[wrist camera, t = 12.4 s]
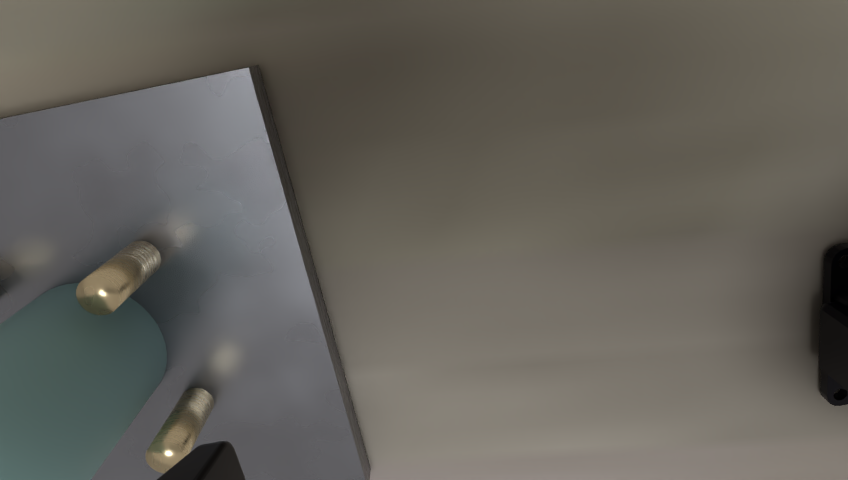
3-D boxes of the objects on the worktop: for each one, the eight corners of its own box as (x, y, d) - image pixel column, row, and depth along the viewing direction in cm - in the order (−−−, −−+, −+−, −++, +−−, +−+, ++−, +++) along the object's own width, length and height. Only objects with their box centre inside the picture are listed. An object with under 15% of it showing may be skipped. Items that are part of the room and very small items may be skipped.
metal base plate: (258, 64, 19) (217, 75, 15) (370, 469, 24) (362, 555, 20) (-212, 162, 20) (-367, 196, 16) (-4, 532, 25) (-83, 627, 21)
